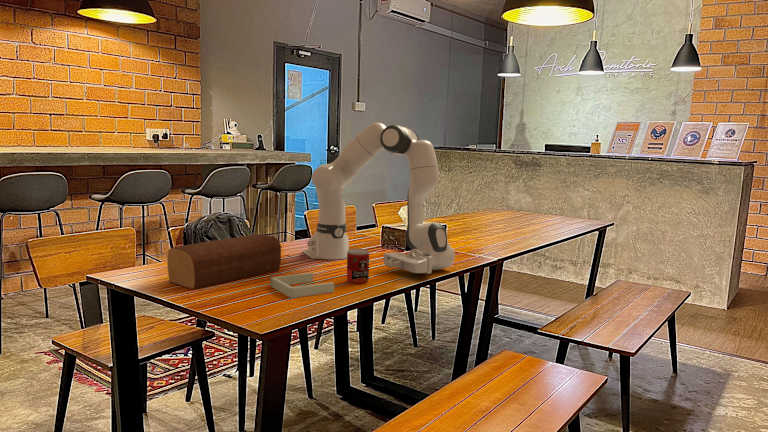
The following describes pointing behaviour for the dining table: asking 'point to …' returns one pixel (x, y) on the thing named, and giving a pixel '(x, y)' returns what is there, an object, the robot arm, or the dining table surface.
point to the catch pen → (285, 281)
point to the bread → (223, 260)
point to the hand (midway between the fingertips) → (387, 264)
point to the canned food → (357, 266)
